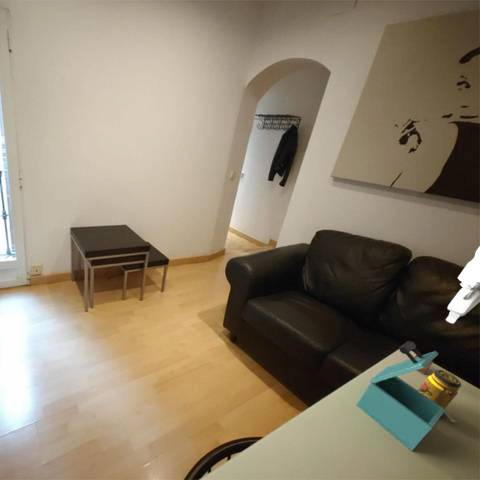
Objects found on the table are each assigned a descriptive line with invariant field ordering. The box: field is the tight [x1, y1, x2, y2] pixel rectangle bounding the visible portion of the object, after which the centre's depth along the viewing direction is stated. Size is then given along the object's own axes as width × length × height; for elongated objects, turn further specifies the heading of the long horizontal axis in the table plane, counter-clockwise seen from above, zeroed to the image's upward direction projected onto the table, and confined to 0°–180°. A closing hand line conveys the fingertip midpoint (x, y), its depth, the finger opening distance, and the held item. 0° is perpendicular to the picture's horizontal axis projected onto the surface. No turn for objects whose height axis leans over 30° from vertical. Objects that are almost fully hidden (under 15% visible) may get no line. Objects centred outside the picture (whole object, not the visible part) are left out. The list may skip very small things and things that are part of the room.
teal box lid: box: [370, 340, 439, 383], centre depth 69 cm, size 13×11×5 cm
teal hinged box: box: [356, 376, 446, 452], centre depth 70 cm, size 13×11×9 cm
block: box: [413, 354, 434, 375], centre depth 90 cm, size 4×4×4 cm
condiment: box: [417, 369, 462, 424], centre depth 74 cm, size 7×8×12 cm
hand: (454, 318), depth 82 cm, fingers open, 8 cm apart
